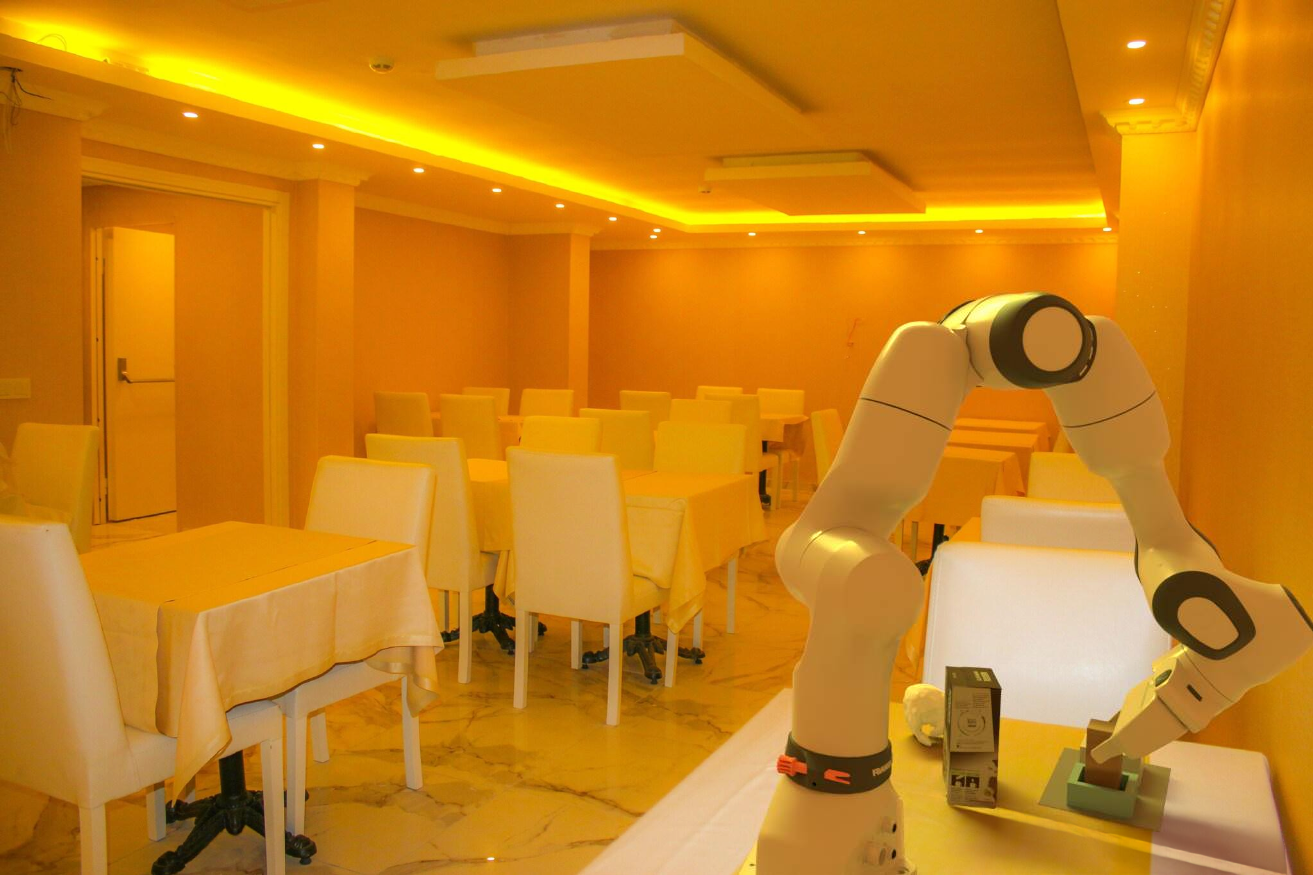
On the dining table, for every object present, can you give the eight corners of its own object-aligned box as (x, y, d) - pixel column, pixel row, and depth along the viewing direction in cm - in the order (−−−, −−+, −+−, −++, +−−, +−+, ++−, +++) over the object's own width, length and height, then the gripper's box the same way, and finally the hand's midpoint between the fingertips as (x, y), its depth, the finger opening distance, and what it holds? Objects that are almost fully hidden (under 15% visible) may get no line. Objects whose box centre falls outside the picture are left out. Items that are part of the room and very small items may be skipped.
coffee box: (998, 809, 127) (1002, 688, 126) (946, 804, 128) (950, 684, 127) (988, 780, 136) (993, 666, 135) (940, 776, 137) (944, 663, 136)
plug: (1117, 810, 125) (1121, 734, 124) (1083, 802, 127) (1086, 727, 126) (1120, 798, 128) (1124, 724, 127) (1087, 791, 130) (1091, 718, 129)
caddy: (1158, 839, 119) (1160, 799, 119) (1037, 811, 127) (1039, 773, 126) (1170, 775, 138) (1172, 740, 138) (1064, 753, 145) (1065, 721, 145)
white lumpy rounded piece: (901, 677, 153) (976, 684, 153) (894, 730, 153) (969, 736, 154) (914, 690, 147) (992, 697, 147) (907, 745, 147) (984, 752, 148)
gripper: (1174, 644, 131) (1092, 701, 137) (1163, 686, 114) (1070, 750, 120) (1210, 682, 129) (1125, 739, 135) (1205, 731, 112) (1108, 794, 118)
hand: (1099, 744), depth 127 cm, fingers open, 8 cm apart
